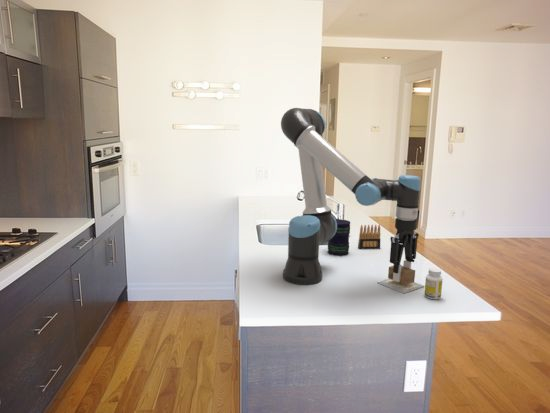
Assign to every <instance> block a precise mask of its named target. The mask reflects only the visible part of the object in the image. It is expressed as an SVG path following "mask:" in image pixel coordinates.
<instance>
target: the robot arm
mask: <svg viewBox="0 0 550 413" xmlns="http://www.w3.org/2000/svg"><path fill="white" fill-rule="evenodd" d="M280 129H281V131H282V134H284V136H285V137H286V138H287V139H288V140H289V141H290V142H291V143H292V144H293V146H294V147H295V148H297V150H298V156H299V163H300V164H299V165H300V171H301V181H302V188H303V196H304V198H303V199H304V205H305V207H304V209H303V211H302V215H297V216H295V217H293V218H291V219H290V221H289V223H288V224H289V225H288V240H287V241H288V242H287V244H288V245H287V247H288V248H287V253H288V255H287V260H286V262H285V266H284V269H283V271H282V278H283V280H284V281H286V282H288V283H292V284H296V285H314V284H318V283H320V282H321V281H322V280H323V271H322V267H321V264H320V260H319V258H320V257H319V255H320V246H321V245H323V244H325V243H328V241H329V240H330V239H331V238H332V237H333V236H334V235H335V233H336V231H337V222H336V220H335V219H336V218H335V217H334V216H333V214H332V208H331V207H329V206H328V203H327V196H326V195H327V194H326V188H325V187H326V186H325V180H324V170H323V167H324V168H325V170H327V171H328V172H329V173H330V174H331V175H333V176H334V177H335V178H336V179H337V180H338V181H339V182H340V183H341V184H343V186H345V187H346V188H347V189H348V190H349V191H350V192H352V193H353V194H354V196H355V199H356V201H357V202H358V203H359V204H360V205H362V206H366V207H369V206H373V205H376V204H377V203H379V202H381V201H392V202H396V206H395V207H396V208H395V217H396V218H395V221H394V228H395V229H396V233H395V236H390V250H389V251H390V252H389V263H390V264H393V265H392V266H393V280H394V281H397V282H400V276H401V266H403V267H406V268H409V269H412V263H414V262H415V259H417V250H418V248H417V247H418V240H419V233H418V232H415V231H416V230H417V228H418V220H417V219H418V214H419V213H418V212H419V204H420V193H421V178H420V177H419V176H417V175H412V174H411V175H410V174H406V175H405V174H401V175H399V176H398V179H396V180H395V179H394V180H393V179H386V178H385V179H383V178H377V177H374V178H370V177H369V176H368V175H367V174H366V173H365V172H363V171H362V170H361V169H360V168H359V167H358V166H356V165H355V164H354V163H353V162H351V160H349V159H348V158H347V157H346V156H345V155H344V154H342V153H341V152H340V151H339V150H338V149H337V148H336V147H335V146H333V145H332V144H331V143H330V142H329V141H328V140H326V139H325V138H324V136H323V134H324V132H325V131H326V120H325V118H324V116H323V114H322V113H320V112H319V111H317V110H315V109H312V108H300V107H292V108H290V109H288V110H287V111H286V112H285V113H284V114H283V115H282V116H281V120H280ZM403 253H404V257H405V258H404V259H405V260H403V265H402V264H401V261H402V257H403Z"/></svg>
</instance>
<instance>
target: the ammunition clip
mask: <svg viewBox="0 0 550 413" xmlns="http://www.w3.org/2000/svg"><path fill="white" fill-rule="evenodd" d="M359 229H360V230H359V236H358V237H359V238H358V242H357V244H358V245H357V248H358V250H381V224H378V226H377V224H375V225H373V224H371V227H370V224H368V225H366V224H364V226H363V224H361V226H360V228H359Z"/></svg>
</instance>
